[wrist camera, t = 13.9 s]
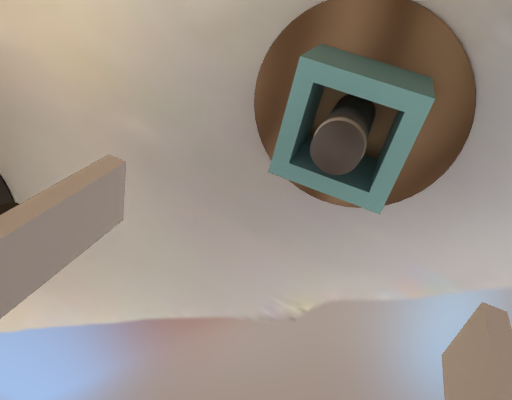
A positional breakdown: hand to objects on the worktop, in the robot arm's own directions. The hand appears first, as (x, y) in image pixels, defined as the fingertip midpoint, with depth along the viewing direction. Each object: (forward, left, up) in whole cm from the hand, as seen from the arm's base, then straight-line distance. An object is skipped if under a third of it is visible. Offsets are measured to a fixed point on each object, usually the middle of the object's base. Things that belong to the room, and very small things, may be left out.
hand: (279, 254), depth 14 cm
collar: (0, 0, -19) cm, 19 cm away
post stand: (0, 0, -20) cm, 20 cm away
